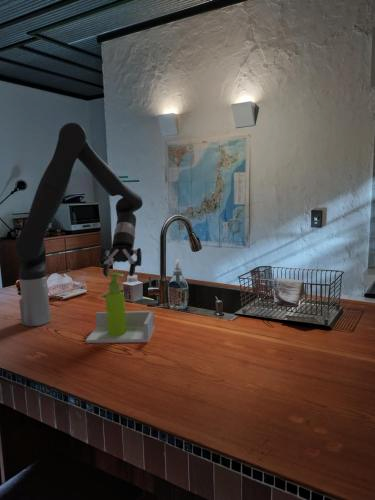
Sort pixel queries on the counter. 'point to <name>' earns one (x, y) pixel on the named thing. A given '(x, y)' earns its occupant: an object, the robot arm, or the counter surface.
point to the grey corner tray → (136, 328)
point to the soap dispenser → (115, 307)
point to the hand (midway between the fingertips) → (118, 275)
